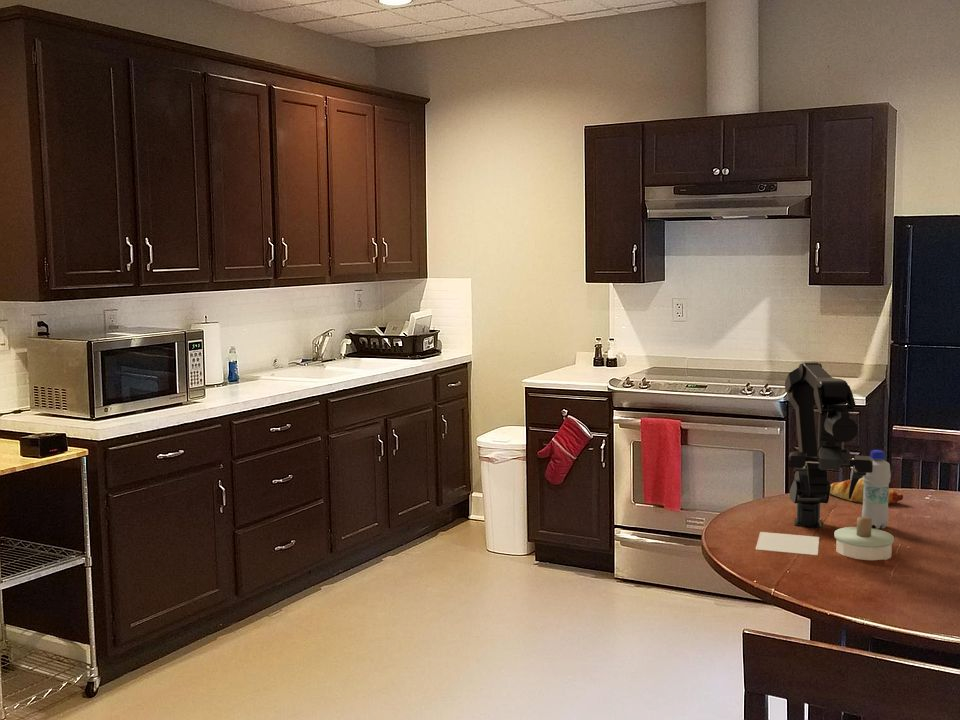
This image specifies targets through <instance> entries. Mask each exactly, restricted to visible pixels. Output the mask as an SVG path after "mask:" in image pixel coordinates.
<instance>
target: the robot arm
mask: <svg viewBox="0 0 960 720" xmlns="http://www.w3.org/2000/svg"><path fill="white" fill-rule="evenodd" d="M784 390H785V392H786V394H787V399H788V402H789V403H790V404H791V405H792V407H793V408H794V409H795V418H796V419H795V420H796V421H795V423H796V430H797V432H796V433H797V443H798V444H797V445H798V451H791V452H790V453H789V455H788V462H787V463H788V468H791V469H793V471H795V473H794V480H793V482H792V484H791V486H790V489H789V499H790V500H791V502H792V503H793V504H796V517H795V518H794V525H793V526H795V527H801V528H802V527H803V528H813V529H814V528H815V529H821V528H822V524H823V523H822V521H823V520H822V519H821V504H828V503H829V501H830V495H831V494H830V489H831V483H830V480H828V471H834V472H839V471H841V469H842V468H841V467H846V468H852V471H851V472H852V473H851V477H850V480H851V482H850V488H849V499H851V496H852V494H853V491H854V489H855V486H856V484H857V482H858V480H859V479H861V478H862V477H863V476H865V475H866V473H871V472H872V471H873V461H872V458H871V457H870V455H857V454H855V455H854V458H851V457H850V456H851V451H850V449H844V443H848V442H851V441H852V440H854V439H855V438H856V436H857V434H858V432H859V431H858V430H859V428H858V427H859V426H858V425H857V423H856V421H855V420H854V419H852V418H851V417H850V413H854V412H855V411H856V410H855V407H856V401H855V398H854V395H853V390H852V389H851V385H848V382H847V381H846V380H844V379H842V378H835V377H832V375H830V374H829V373H828V372H827V371H826V370H825V369H824V368H823V365H822V363H821V362H802V363H800V364H799V365H798V367H797V368H795V369H793V370H792V371H790V372H788V374H787V376H786V379H785V381H784ZM815 405H816V407H817V410H818V430H817V429H816V428H817V427H816V417H815ZM817 431H818V433H817ZM817 436H818V437H817Z"/></svg>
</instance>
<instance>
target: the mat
mask: <svg viewBox="0 0 960 720" xmlns="http://www.w3.org/2000/svg"><path fill="white" fill-rule="evenodd" d="M819 545H820V536H811V535H803V534H802V535H799V534H790V533H777V532H767V531H760V532H759V535H758V538H757V542H756V545H755V550H757V551H767V552H779V553H789V554H799V555H808V556H809V555H812V556H819Z"/></svg>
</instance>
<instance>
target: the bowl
mask: <svg viewBox="0 0 960 720" xmlns="http://www.w3.org/2000/svg"><path fill="white" fill-rule="evenodd" d="M835 541H836V546H835V548H836V549H835V551H836V553H838V554H840V555H842V556H843V557H847V558H851V559H855V560H862V561H863V560H864V561H878V560H879V561H882V560H884V561H886V560H889V559H891V558H892V552H893V550H892V548H893V547H892V546H893V544H891V545H889V546H885V547H859V546H853V545H849V544H845V543H843V542H840V541H838V540H837V539H836V540H835Z"/></svg>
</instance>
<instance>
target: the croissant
mask: <svg viewBox="0 0 960 720" xmlns="http://www.w3.org/2000/svg"><path fill="white" fill-rule="evenodd" d="M862 478H863V477H860V479H859V480H858V482H857V484H856V486H855V489H854V491H853V494H852V496H851V499H849V488H850V482H851V479H846V480H844V481H837V482H832V483H830V485H831V489H830V495H832V496H834V497H837V498H840V499H842V500H846V501H849V502H855V503H860V504H863V491H864V481H863V479H862ZM903 499H904V494H903V493H901V492H896V490H894V489H892V488H889V493H888V505H889V504H895V503H898V502H899V501H902V500H903Z"/></svg>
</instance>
